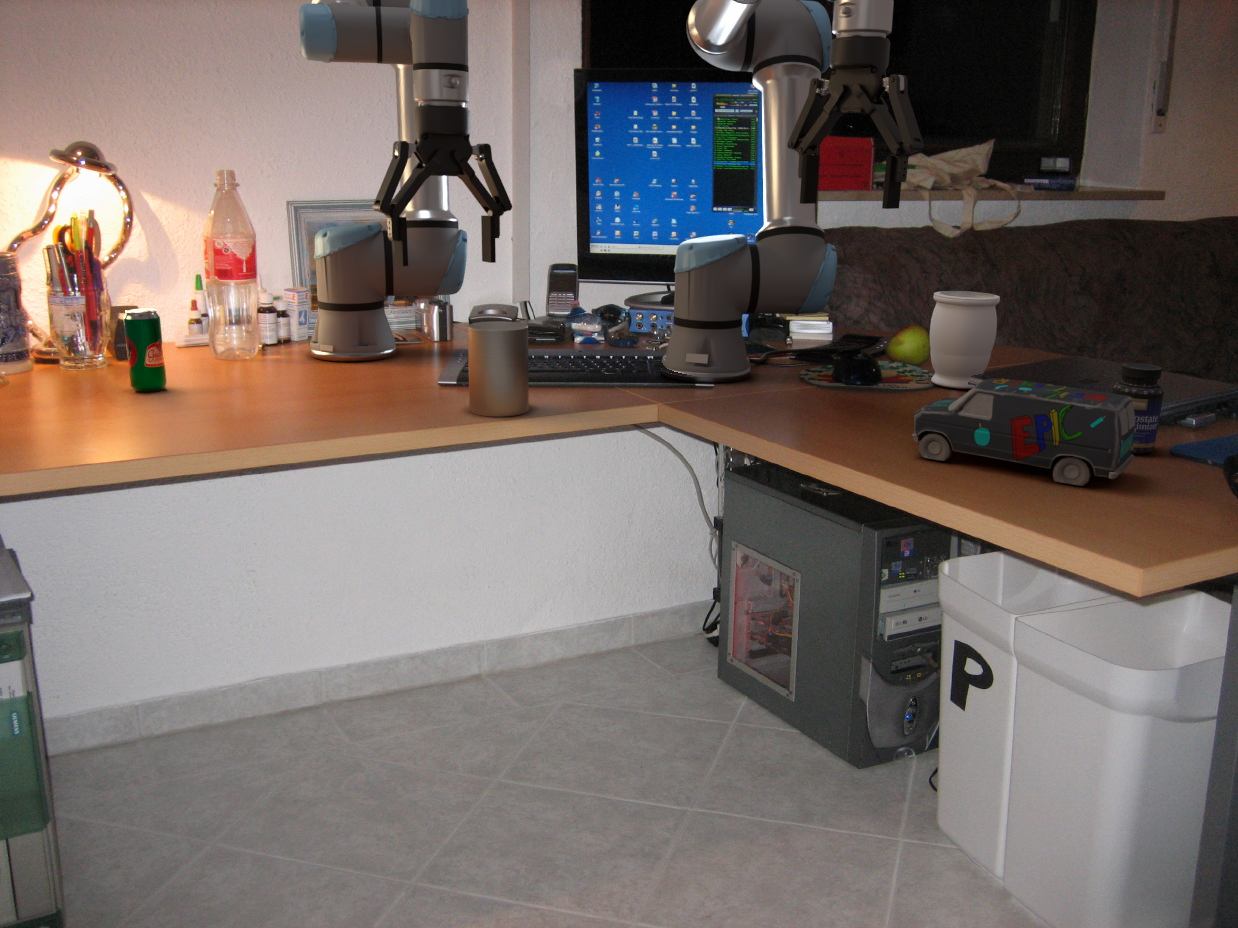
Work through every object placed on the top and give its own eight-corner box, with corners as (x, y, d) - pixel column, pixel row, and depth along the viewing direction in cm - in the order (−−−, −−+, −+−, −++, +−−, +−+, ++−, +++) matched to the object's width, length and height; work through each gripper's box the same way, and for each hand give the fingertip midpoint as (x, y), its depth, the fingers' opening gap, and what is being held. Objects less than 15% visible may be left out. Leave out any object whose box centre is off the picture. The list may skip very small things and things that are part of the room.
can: (457, 411, 154) (455, 326, 151) (493, 400, 161) (492, 319, 158) (505, 419, 150) (504, 332, 147) (540, 408, 157) (540, 325, 154)
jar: (911, 380, 181) (920, 291, 177) (960, 376, 185) (969, 289, 181) (953, 393, 172) (963, 299, 168) (1003, 388, 176) (1014, 297, 172)
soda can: (154, 393, 161) (145, 313, 158) (124, 391, 162) (115, 312, 158) (173, 386, 166) (166, 309, 162) (144, 384, 167) (136, 307, 163)
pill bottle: (1117, 454, 138) (1130, 370, 135) (1094, 442, 144) (1106, 361, 140) (1163, 454, 138) (1177, 370, 135) (1139, 442, 144) (1152, 361, 141)
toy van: (935, 438, 144) (942, 365, 141) (1133, 472, 130) (1146, 392, 127) (905, 455, 135) (913, 378, 133) (1114, 493, 122) (1127, 408, 119)
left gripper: (365, 99, 135) (373, 269, 141) (534, 108, 149) (535, 262, 155) (343, 102, 141) (351, 264, 147) (508, 110, 155) (510, 258, 161)
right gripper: (768, 40, 144) (759, 202, 150) (928, 28, 127) (911, 211, 133) (803, 45, 149) (793, 201, 155) (962, 33, 131) (944, 210, 137)
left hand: (446, 264), depth 151 cm, fingers open, 13 cm apart
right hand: (847, 206), depth 144 cm, fingers open, 13 cm apart
